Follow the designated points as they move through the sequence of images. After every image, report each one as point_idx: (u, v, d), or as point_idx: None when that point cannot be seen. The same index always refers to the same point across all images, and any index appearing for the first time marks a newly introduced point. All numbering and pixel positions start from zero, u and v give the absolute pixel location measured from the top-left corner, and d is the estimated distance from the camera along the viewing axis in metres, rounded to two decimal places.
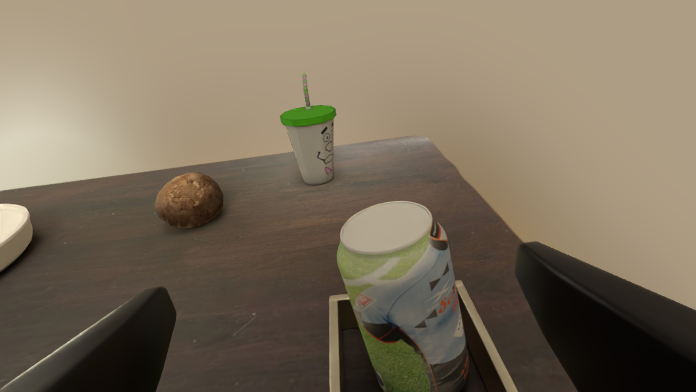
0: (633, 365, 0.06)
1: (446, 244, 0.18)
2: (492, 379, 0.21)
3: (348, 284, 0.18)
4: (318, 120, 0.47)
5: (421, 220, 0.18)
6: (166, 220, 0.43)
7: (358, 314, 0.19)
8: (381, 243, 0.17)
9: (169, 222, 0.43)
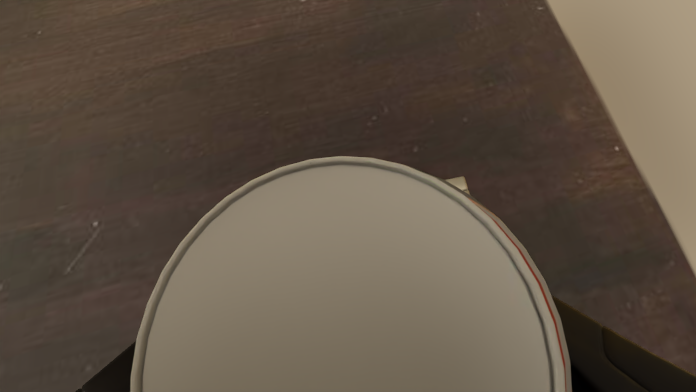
0: None
1: None
2: None
3: None
4: None
5: (508, 373, 0.04)
6: None
7: None
8: None
9: None
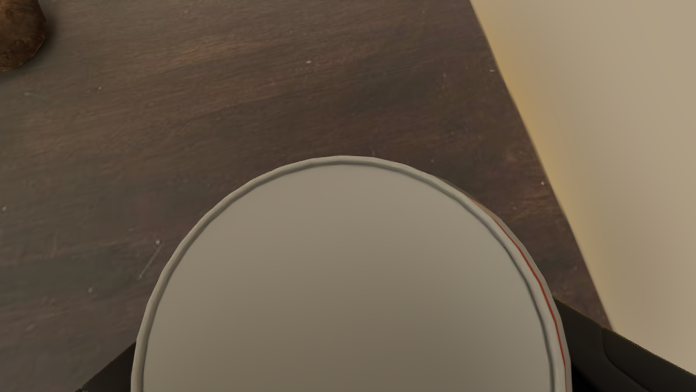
0: None
1: None
2: None
3: None
4: None
5: (508, 373, 0.04)
6: None
7: None
8: None
9: None
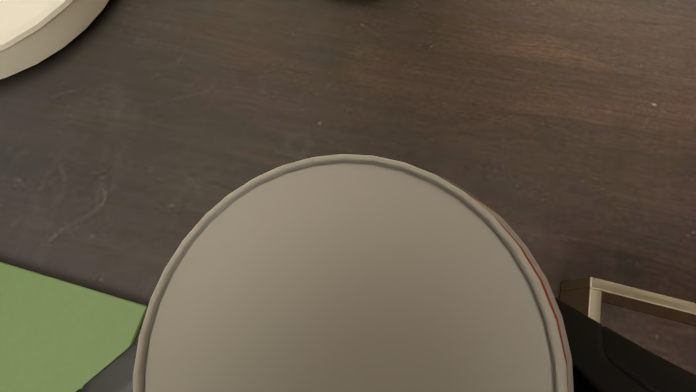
0: None
1: None
2: None
3: None
4: None
5: (510, 371, 0.04)
6: None
7: None
8: None
9: None
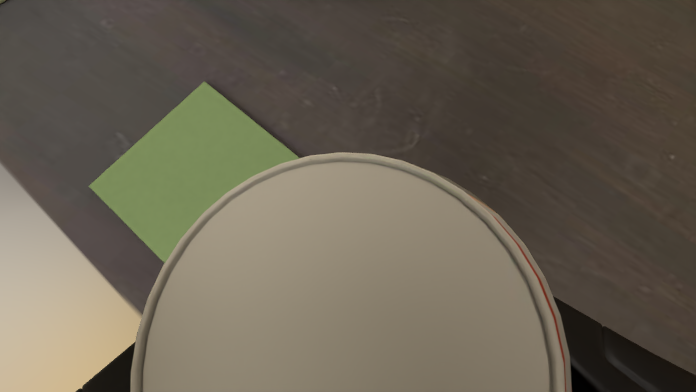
0: None
1: None
2: None
3: None
4: None
5: (508, 368, 0.04)
6: None
7: None
8: None
9: None
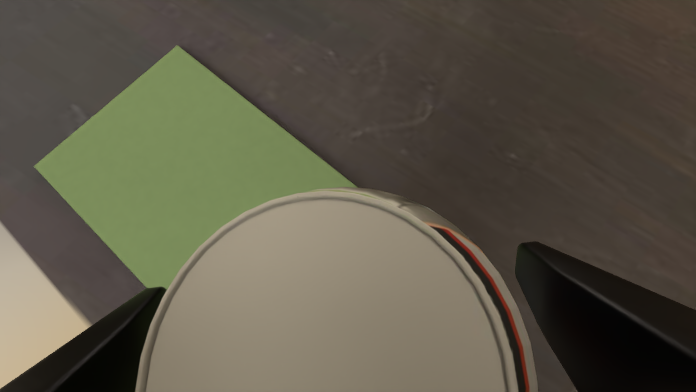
0: (633, 365, 0.06)
1: None
2: None
3: None
4: None
5: None
6: None
7: None
8: None
9: None
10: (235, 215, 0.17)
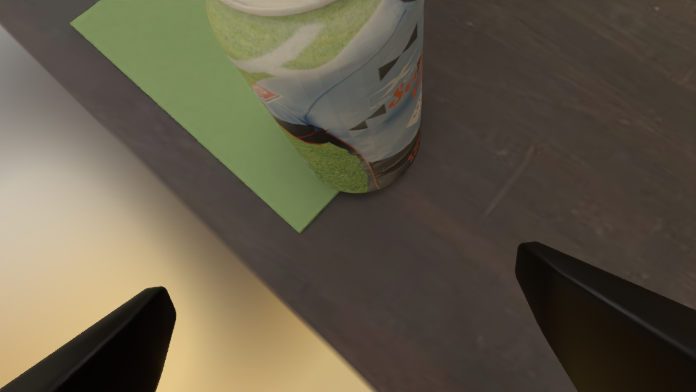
0: (633, 365, 0.06)
1: None
2: None
3: (233, 62, 0.10)
4: None
5: None
6: None
7: (263, 103, 0.12)
8: None
9: None
10: None
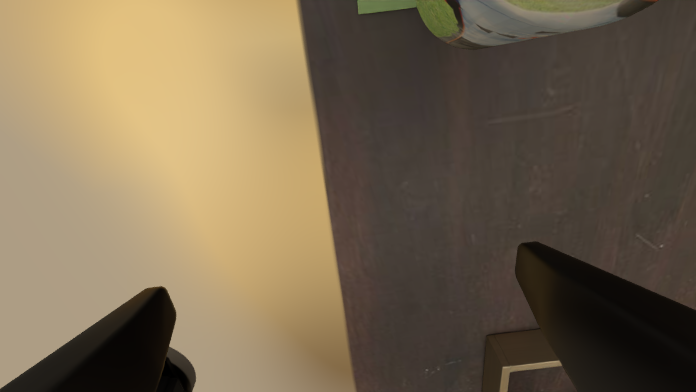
0: (633, 365, 0.06)
1: None
2: None
3: None
4: None
5: None
6: None
7: None
8: None
9: None
10: None
